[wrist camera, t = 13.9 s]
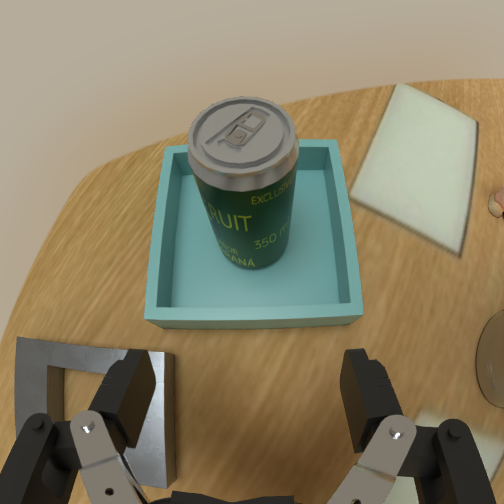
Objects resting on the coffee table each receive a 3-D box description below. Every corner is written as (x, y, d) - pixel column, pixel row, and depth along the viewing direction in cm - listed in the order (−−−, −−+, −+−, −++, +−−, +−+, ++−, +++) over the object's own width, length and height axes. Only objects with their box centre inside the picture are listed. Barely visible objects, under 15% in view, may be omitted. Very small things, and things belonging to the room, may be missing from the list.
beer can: (245, 197, 26) (230, 82, 15) (301, 230, 25) (321, 119, 14) (205, 247, 25) (159, 147, 14) (262, 285, 23) (256, 200, 12)
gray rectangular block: (174, 354, 23) (164, 352, 20) (176, 478, 19) (166, 488, 17) (34, 340, 23) (17, 336, 21) (33, 444, 19) (17, 447, 17)
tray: (329, 168, 28) (336, 139, 24) (348, 324, 23) (363, 314, 19) (176, 174, 29) (165, 146, 25) (162, 328, 23) (144, 319, 20)
